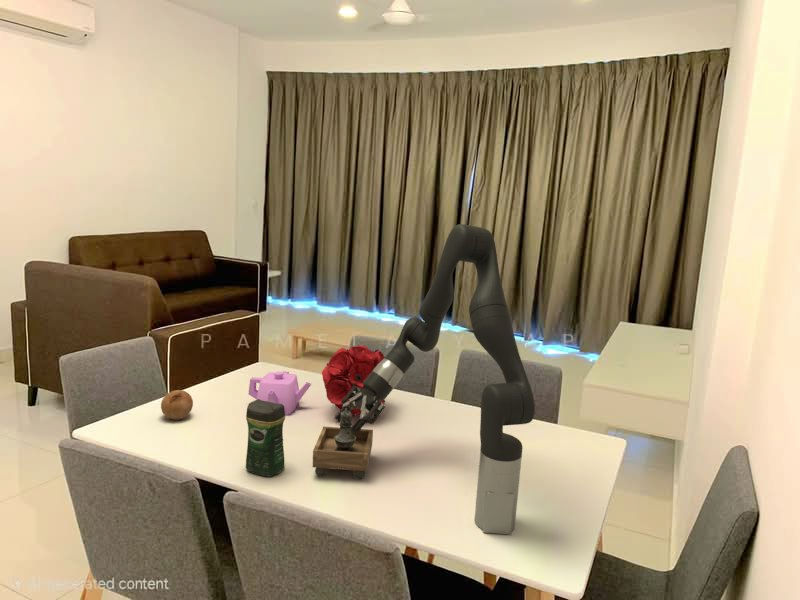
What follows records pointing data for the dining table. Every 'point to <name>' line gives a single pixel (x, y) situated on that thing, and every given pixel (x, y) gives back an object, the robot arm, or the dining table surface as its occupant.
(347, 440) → the grey stone tiered cylinder
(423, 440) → the dining table surface
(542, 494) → the dining table surface
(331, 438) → the wooden serving tray
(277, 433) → the coffee jar
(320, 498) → the dining table surface
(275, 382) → the teakettle
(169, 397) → the onion
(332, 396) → the bouquet
